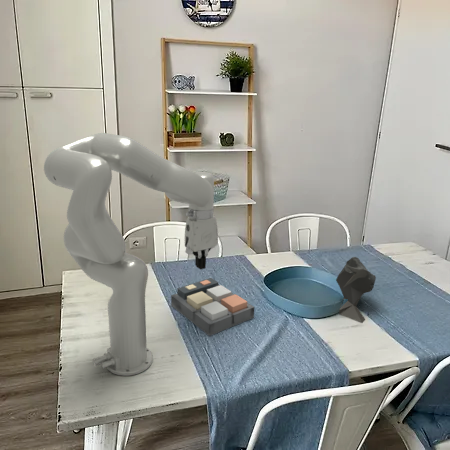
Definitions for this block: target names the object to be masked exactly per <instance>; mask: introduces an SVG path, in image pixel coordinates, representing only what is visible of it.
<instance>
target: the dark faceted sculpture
mask: <svg viewBox="0 0 450 450" xmlns="http://www.w3.org/2000/svg"><path fill="white" fill-rule="evenodd" d="M376 278H377V277H376V275H374V274H373V273H371V271H369V270H368V269H367V267H366V266H365V265H364V263H363V262H362V261H361V260H360V259H359V257H357V256H353V257H351V258H349V260H347V261H346V262H345V265H344V267H343V268H342V269H341V271H340V272H339V273H338V275H337V277H336V279H335V281H336V283H337V284H338V286H339V289H340V292H341V293H342V296H343V300H344V299H348V301H347V302H346V303H345V304H344V305H343V306H342V307H341V306H340V307H341V308H339V311H338V315H340V316H343V317H345V318H348V319H350V320H353V321H356V322H358V323H361V324H363V323H364V322H365V321H366V318H365V316H363V314H362V313H361V311H360V310H359V308H358V307H357V305H358V304H359V302H360V300H361V297H362V296H363V295H364V294H366V293H369V292H372V291H373V289H374V288H375V287H374V286H375V283H376ZM343 300H342V301H343Z"/></svg>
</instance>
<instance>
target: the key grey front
mask: <svg viewBox="0 0 450 450" xmlns="http://www.w3.org/2000/svg"><path fill="white" fill-rule="evenodd" d="M201 314H203V315H204V316H205V317H207V318H208V319H209V320H211V321H215V320H217V319H220V318H222V317H225V316H227V315H228V309H227V308H226V307H224V306H223V305H221V304H220V303H218V302H217V301H215V302H212V303H209V304H207V305H204V306H201Z"/></svg>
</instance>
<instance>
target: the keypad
mask: <svg viewBox="0 0 450 450" xmlns="http://www.w3.org/2000/svg"><path fill="white" fill-rule="evenodd" d="M219 285H220V284H219V281H217V280H215V279H214V278H212V277H209V278H206V279H205V278H204V279H202V280H200V281H196V282H193V283H190V284H186V285H184V286H180V287H178V288H177V290H176V291H177V293H174V294H171V296H170V297H171V298H170V299H171V300H170V302H171V303H170V306H171V307H172V308H173V309H175V310H176V311H177V312H178V313H180V314H181V315H182V316H184V317H185V318H186V319H187V320H189V321H190V322H191V323H193V324H194V325H195V326H197V328H199V329H200V330H201V331H202V332H204V334H206V335H208V337H211V336H213V335H215V334H218V333H220V332H223V331H226V330H227V329H230V328H232V327H235V326H238V325H240V324H242V323H245V322H247V321H249V320H250V321H251V320H252V319H254V317H255V306H253V305H252V304H251V303H249V302H247V308H245V309H243V310H240V311H238V312H235V313H233V314H232V313H231V312H230V311H228V315H227V316H225V317H222V318H220V319H217V320H215V321H211V320H209V319H208V318H207V317H205V316H204V315H203V314H201V309H199V310H196V309H195V308H193V307H192V306H191V305H189V304H188V303H187V296H189V295H192V294H195V293H198V292H201V291H202V292H204V293H205V294H207V289H210V288H213V287H216V286H219ZM232 295H235V293H233V292H232ZM213 302H215V301H213ZM219 303H220V304H221V302H219Z"/></svg>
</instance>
